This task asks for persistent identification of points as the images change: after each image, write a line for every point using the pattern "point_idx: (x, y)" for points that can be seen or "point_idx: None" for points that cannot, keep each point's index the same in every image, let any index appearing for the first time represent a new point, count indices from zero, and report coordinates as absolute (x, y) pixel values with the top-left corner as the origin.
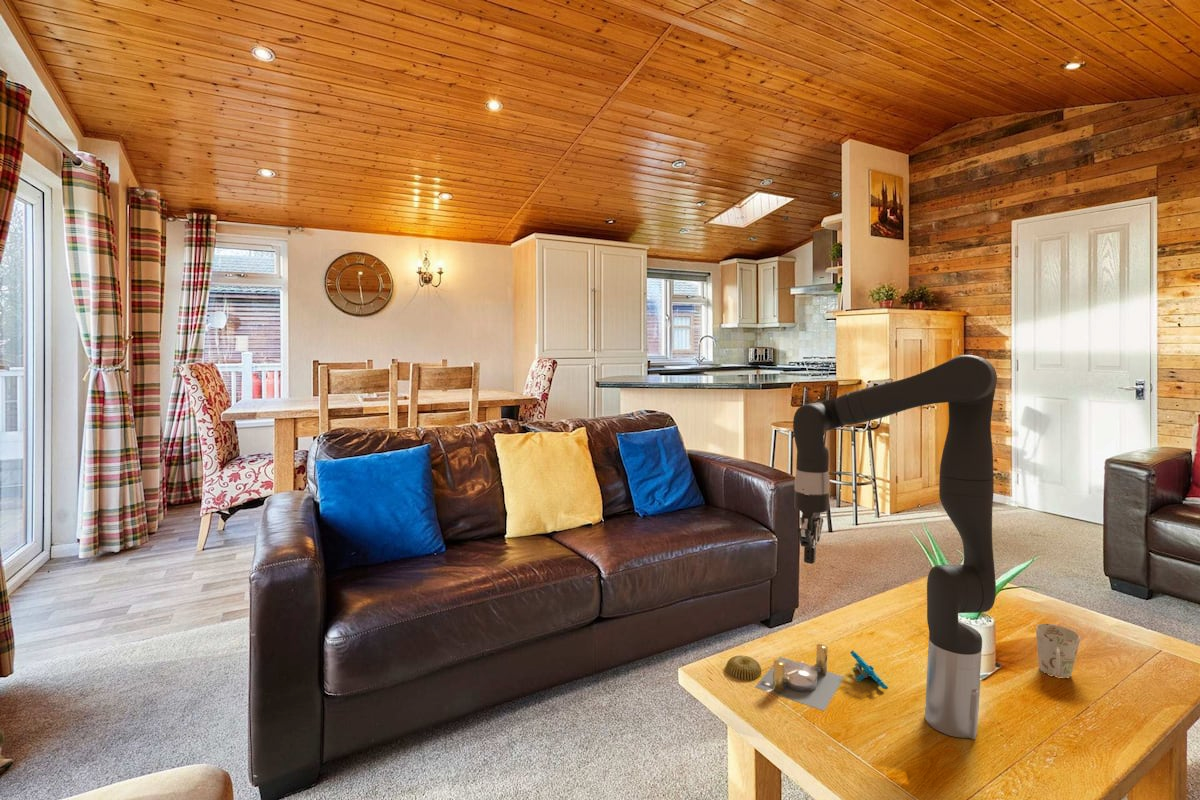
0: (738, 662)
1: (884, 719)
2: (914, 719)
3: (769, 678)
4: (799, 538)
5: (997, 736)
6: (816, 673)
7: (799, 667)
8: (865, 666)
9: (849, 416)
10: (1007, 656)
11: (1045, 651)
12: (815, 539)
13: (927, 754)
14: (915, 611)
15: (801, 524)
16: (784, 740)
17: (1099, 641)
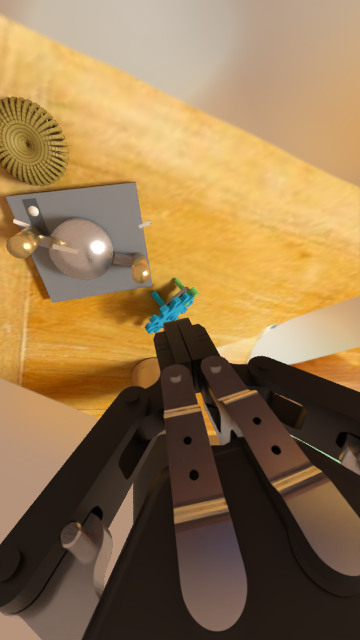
0: (9, 134)
1: (112, 339)
2: (135, 354)
3: (53, 204)
4: (64, 465)
5: None
6: (99, 276)
7: (93, 248)
8: (149, 327)
9: None
10: (303, 362)
11: (294, 402)
12: (214, 427)
13: (89, 378)
14: None
15: (176, 531)
16: None
17: (355, 390)
